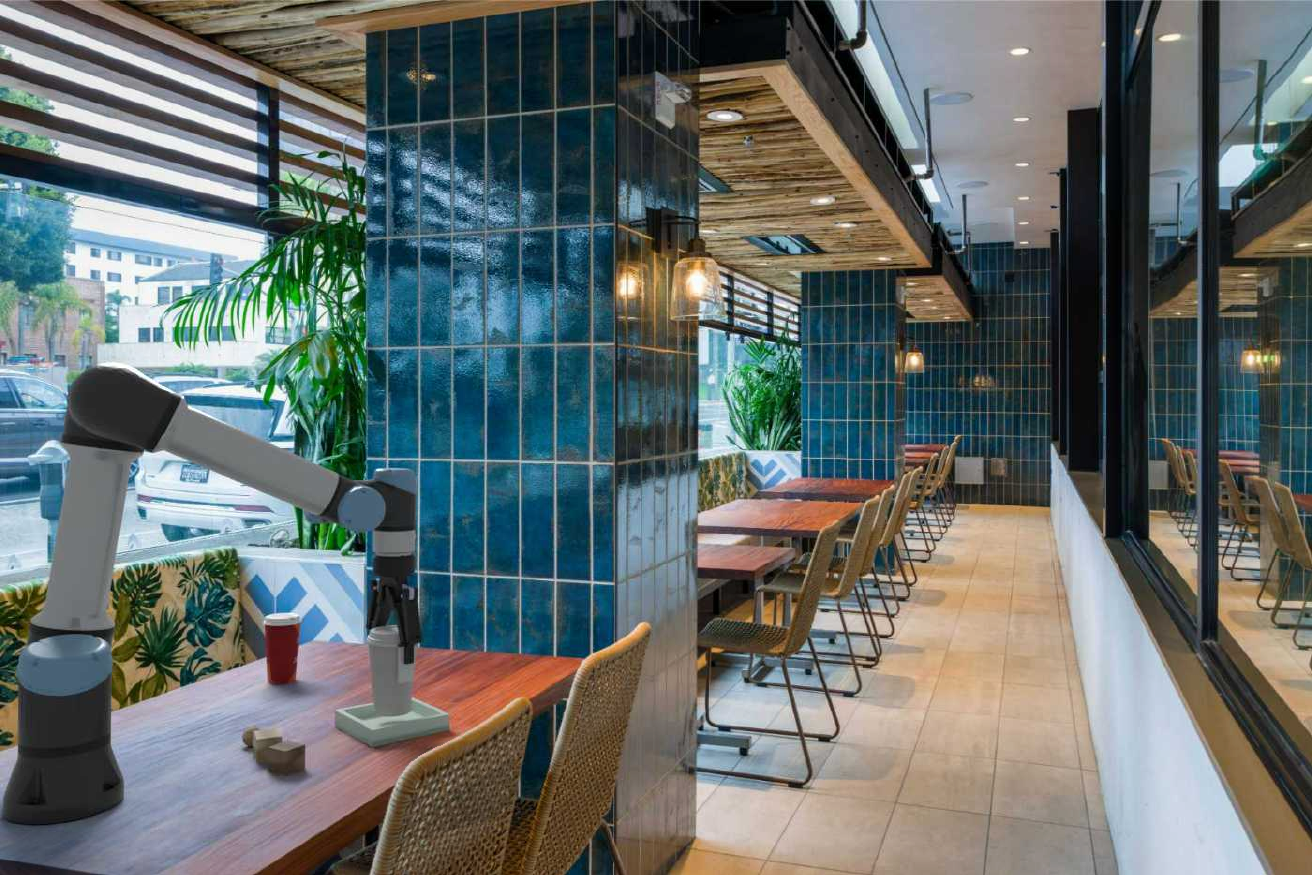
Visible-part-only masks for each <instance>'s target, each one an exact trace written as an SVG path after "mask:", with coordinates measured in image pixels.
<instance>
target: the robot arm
mask: <svg viewBox="0 0 1312 875" xmlns="http://www.w3.org/2000/svg"><path fill="white" fill-rule="evenodd" d="M66 405H67V406H66V410H65V416H64V421H63V422H64V423H63V429H62V435H61V439H60V440H61V441H60V445H61V446H62V448H63V449H64V450H65V451H66V452H67V454H68V456H69V460H68V465H67V470H66V471H67V472H66V478H65V484H64V488H63V495H62V502H61V506H60V512H59V520H58V524H57V530H56V535H55V537H56V538H55V543H54V549H53V554H52V560H51V566H50V573H49V577H48V581H47V582H48V584H47V589H46V594H45V600H44V605H43V606H44V607H43V609H42V610H41V611H39V612H38V613H37V614H36V615H34V616H32V617H31V618H30V622H29V627H28V632H27V637H26V639H27V640H26V645H25V647H24V648H23V649H22V650H21V652H20V653H19V657H18V663H17V665H16V672H15V673H16V678H17V757H16V762H15V763H14V766H13V770H12V772H11V775H10V777H9V780H8V783H7V786H6V789H5V792H4V794H3V796H2V816H3V818H5V820H7V821H10V822H13V823H16V824H23V825H24V824H25V825H44V824H45V825H46V824H57V823H64V822H68V821H75V820H78V819H83V818H84V819H85V818H88V817H90V816H94V815H96V814H99V813H102V812H105V811H107V810H109V809H111V808H112V807H114V806H116V805H117V804H119V803H120V802H121V801H122V800H123V798H124V796H125V781H124V777H123V774H122V771H121V769H120V765H119V764H118V760H117V757H116V755H115V753H114V750H113V747H112V670H113V666H114V657H113V655H112V645H113V640H114V639H113V638H114V635H115V633H114V632H115V629H116V628H115V627H116V622H115V621H114V620H113V618H112V617H110V615H109V614H108V612H107V610H108V605H109V604H108V603H109V599H110V594H111V592H110V591H111V586H112V582H113V581H112V580H113V574H114V569H115V564H116V557H117V552H118V545H119V538H120V532H121V526H122V521H123V515H124V509H125V503H126V498H127V497H126V496H127V491H128V485H129V478H130V473H131V467H132V464H133V463H134V461H136V460H138V459H139V458H141V457H142V456H144V453H145V451H146V452H149V453H151V454H157V453H159V452H166V453H169V454H171V455H174V456H176V457H179V458H181V459H183V460H185V461H188V462H191V463H192V464H195V465H198V466H200V467H202V468H204V469H207V470H209V471H211V472H213V473H215V474H218V475H221V476H223V477H225V478H228V479H231V480H232V481H235V482H237V483H240V484H242V485H244V486H247V487H249V488H252V489H255V490H256V491H259V492H261V493H262V494H263V493H264V494H266V495H268V496H270V497H272V498H275V499H277V500H280V501H282V502H284V503H287V504H288V505H291V506H294V507H296V508H299V509H301V510H303V515H304V518H305V520H306V522H308V523H310V524H321V525H325V524H336V525H338V526H340V527H343V528H344V529H346V530H348V531H350V532H354V533H367V532H370V531H371V532H372V552H374V553H375V554H373V556H372V574H373V575H374V576H376V577H379V578H373V579H372V578H371V579H370V586H369V587H370V593H369V594H370V595H369V601H368V608H367V614H366V616H367V617H366V624H365V629H366V630H367V631H368V630H369V631H370V632H371V630H372V629H373V628H376V627H381V626H388V623H389V619H390V617H391V613H392V611H393V613H394V617H395V623H396V625H397V627H398V631H399V636H400V640H401V643H399V644H398V683H404V682H409V681H413V682H414V680H415V670H414V646H415V645H416V644H417V645H418V644H421V643H422V642H423V638H422V630H421V629H422V628H421V621H420V610H419V602H418V600H419V588H418V587H416V586H415V587H411V586H410V582H409V577H410V576H412V575H414V574H415V573H416V554H414V551H415V550H416V538H417V533H416V518H417V517H416V514H417V496H418V492H417V481H416V480H417V478H416V477H417V476H416V473H415V471H414V470H412V469H410V468H403V467H402V468H400V467H385V468H381V467H380V468H376V469H374V471H373V476H372V478H371V479H370V478H369V479H365V480H364V479H363V480H358V479H357V480H356V479H355V480H353V479H350V478H348V477H346V476H343V475H342V474H341V475H340V474H339V473H337V472H335V471H333V470H330V469H328V468H326V467H324V466H322V465H320V464H317V463H315V462H313V461H310V460H308V459H306V458H304V457H302V456H299V455H297V454H295V453H293V452H291V451H288V450H286V449H284V448H282V447H280V446H277V445H276V444H273V443H271V442H268V441H267V440H264V439H262V438H260V437H258V436H256V435H253V434H252V433H249V432H247V431H245V430H242V429H240V428H239V427H235V426H234V425H231V424H230V423H227V422H224V421H223V420H221V419H218V418H217V417H213V416H211V415H209V414H207V413H205V412H204V411H203V412H202V411H200V410H198V409H195V408H194V407H191V406H189V405H188V404H187V401H186V399H185V396H183V395H182V394H180V393H177V392H175V391H173V390H171V389H169V388H167V387H166V386H163V385H162V384H160V383H158V382H156V381H155V380H153V379H151V378H150V377H149V376H147V375H145V374H144V373H142V372H141V371H139V369H137V368H134V367H133V366H130V365H127V364H123V363H118V362H104V363H98V364H95V365H93V366H90V367H89V368H86V369H85V370H84V371H82V372H81V373H80V374H79V375H78V376H77V377H76V378H74V380H73V382H72V383H71V385H70V387H69V389H68V391H67V398H66ZM370 632H369V633H370Z"/></svg>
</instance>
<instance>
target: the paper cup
mask: <svg viewBox="0 0 1312 875" xmlns="http://www.w3.org/2000/svg"><path fill="white" fill-rule="evenodd" d="M301 622H303V621H302V619H301V616H300V614H299V613H296V612H277V613H270V614H268V615H266V616H265V619H264V621H263V625H264V631H265V634H264V635H265V653H266V671H267V672H266V673H267V682H268V684H271V685H288V684H292V683H294V682H296V681H297V673H298V672H297V671H298V656H299V644H300V643H299V642H300V631H301V630H300V629H301Z"/></svg>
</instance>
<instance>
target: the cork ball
mask: <svg viewBox="0 0 1312 875" xmlns="http://www.w3.org/2000/svg"><path fill="white" fill-rule="evenodd" d="M256 730H261V729H260V728H258V727H257V726H250V727H248V728H246V729H245V730H244V731H243V733H242V736H241V740H242V742H243V744H244V745H245V746H248V747H253V731H256Z"/></svg>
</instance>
